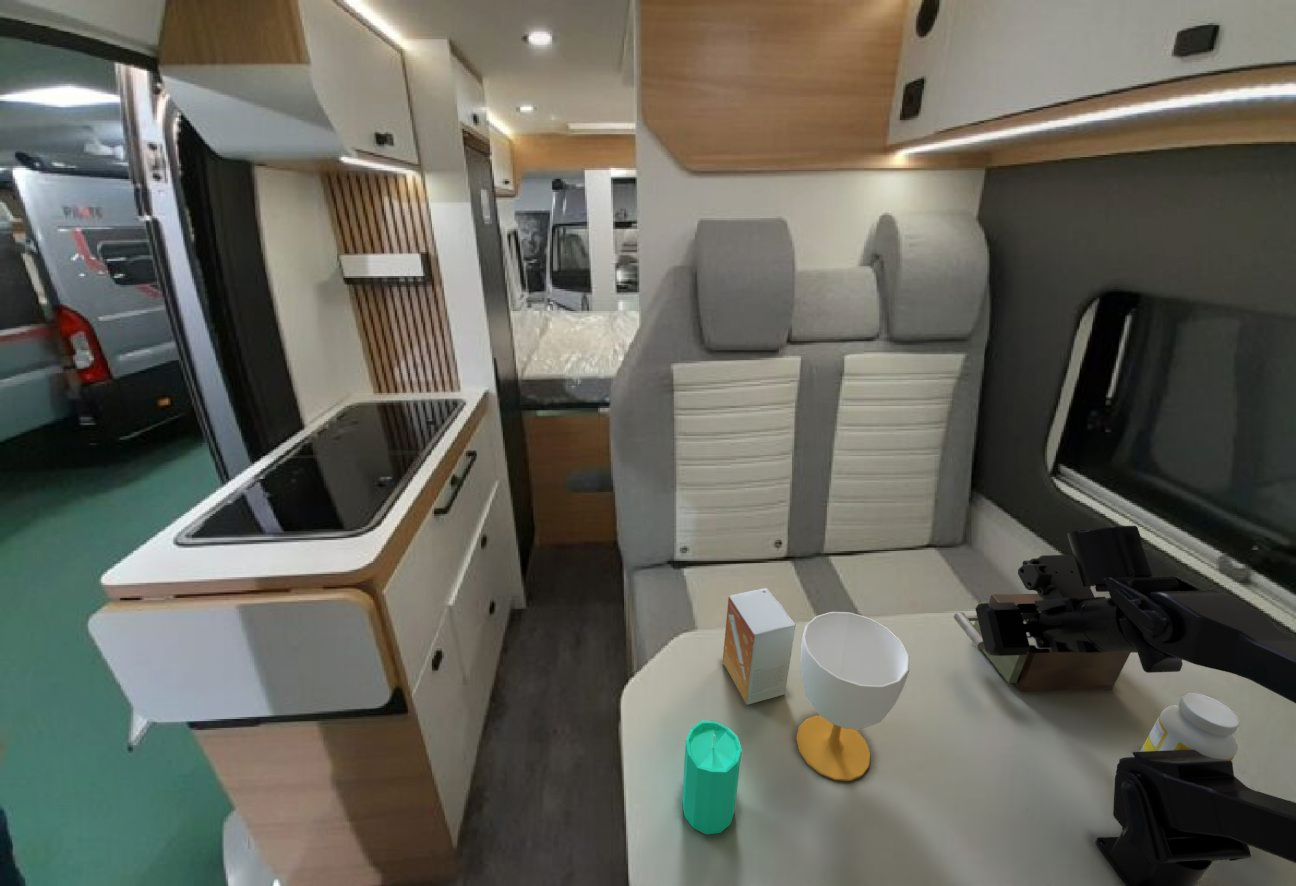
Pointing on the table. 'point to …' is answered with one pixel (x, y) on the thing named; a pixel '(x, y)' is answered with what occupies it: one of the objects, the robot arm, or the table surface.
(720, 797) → the candle
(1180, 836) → the robot arm
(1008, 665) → the drawer
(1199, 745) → the pill bottle
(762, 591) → the small box
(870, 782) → the table surface
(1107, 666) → the cabinet
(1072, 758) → the table surface
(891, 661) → the cup
